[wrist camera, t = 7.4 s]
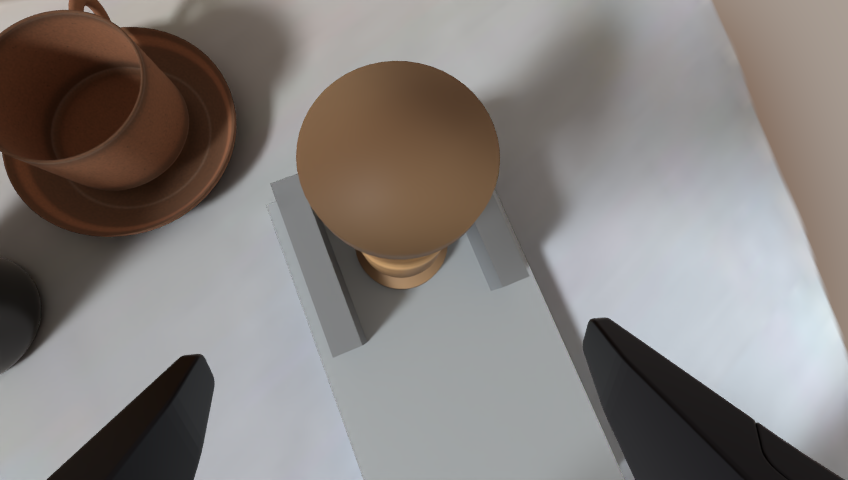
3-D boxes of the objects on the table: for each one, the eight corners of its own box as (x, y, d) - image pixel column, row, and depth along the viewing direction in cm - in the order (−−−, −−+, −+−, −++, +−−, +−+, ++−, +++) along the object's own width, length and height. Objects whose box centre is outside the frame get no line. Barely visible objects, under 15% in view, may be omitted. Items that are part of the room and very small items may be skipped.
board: (613, 471, 22) (658, 505, 18) (402, 573, 21) (402, 633, 17) (465, 139, 25) (477, 107, 21) (272, 210, 24) (246, 189, 20)
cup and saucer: (2, 98, 25) (-128, 26, 18) (198, 18, 26) (137, -72, 20) (77, 281, 23) (-40, 267, 17) (281, 184, 24) (241, 140, 18)
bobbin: (464, 249, 23) (541, 165, 10) (396, 308, 22) (387, 297, 9) (406, 184, 23) (410, 25, 11) (338, 240, 23) (253, 140, 10)
